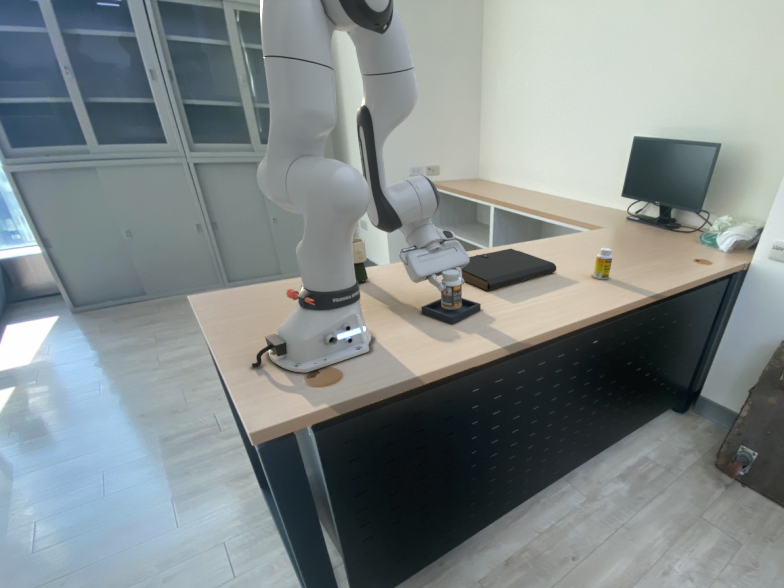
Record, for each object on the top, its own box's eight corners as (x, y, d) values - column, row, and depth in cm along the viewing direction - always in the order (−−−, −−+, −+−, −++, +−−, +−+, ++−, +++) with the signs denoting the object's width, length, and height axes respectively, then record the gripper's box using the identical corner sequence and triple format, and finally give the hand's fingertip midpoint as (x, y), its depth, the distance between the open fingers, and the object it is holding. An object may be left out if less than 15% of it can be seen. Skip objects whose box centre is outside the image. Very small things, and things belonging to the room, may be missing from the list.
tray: (452, 324, 107) (452, 317, 106) (421, 313, 112) (421, 306, 111) (480, 310, 116) (480, 303, 115) (450, 300, 121) (450, 294, 120)
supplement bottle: (602, 281, 144) (608, 252, 139) (590, 276, 147) (594, 248, 142) (611, 278, 147) (617, 249, 142) (598, 274, 151) (603, 246, 145)
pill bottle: (458, 311, 111) (458, 276, 105) (438, 309, 112) (437, 274, 106) (464, 303, 115) (464, 269, 110) (444, 301, 116) (444, 267, 111)
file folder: (510, 247, 161) (557, 263, 147) (509, 257, 163) (555, 274, 149) (443, 260, 141) (489, 280, 127) (443, 272, 143) (489, 293, 129)
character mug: (339, 278, 132) (332, 238, 125) (359, 274, 137) (354, 235, 130) (356, 288, 126) (350, 245, 119) (376, 283, 131) (372, 242, 124)
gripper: (401, 243, 100) (430, 290, 101) (457, 230, 114) (483, 272, 115) (391, 257, 105) (419, 302, 105) (446, 243, 119) (471, 283, 119)
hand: (452, 287), depth 110 cm, fingers closed on pill bottle, 6 cm apart
